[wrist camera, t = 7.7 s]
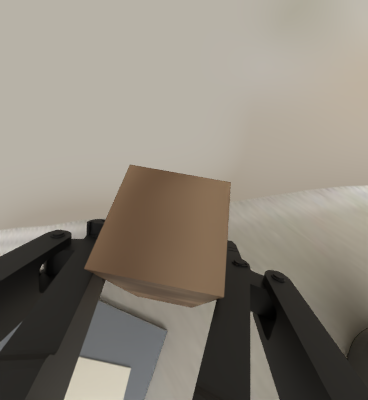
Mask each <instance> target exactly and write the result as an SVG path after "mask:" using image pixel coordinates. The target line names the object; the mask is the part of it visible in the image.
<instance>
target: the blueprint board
mask: <svg viewBox="0 0 368 400" xmlns="http://www.w3.org/2000/svg"><path fill="white" fill-rule="evenodd" d="M21 323H22V322H21ZM21 323H20V324H21ZM20 324H19V325H20ZM19 325H18V326H17V327H16V328H15V329H14V330H13V331H12V332H10V333H9V334H8V335H7V336H6V337H5V338H4V339H3V340H2V341H1V342H0V351H1V350H2V348H3V347H4V346H5V344H6V343H7V342H8V340H9V339H10V338H11V336H12V335H13V333H14V332H15V331H16V329H17V328H18V327H19ZM166 334H167V330H165V329H162V328H160V327H158V326H156V325H154V324H151V323H149V322H147V321H145V320H142V319H140V318H138V317H136V316H133V315H131V314H129V313H127V312H124V311H122V310H120V309H118V308H115V307H113V306H111V305H109V304H106V303H104V302H102V301H100V300H98V303H97V306H96V309H95V312H94V315H93V317H92V320H91V323H90V326H89V329H88V332H87V335H86V338H85V340H84V343H83V346H82V349H81V352H80V355H79V358H78V361H77V364H76V366H75V369H74V372H73V375H72V378H71V381H70V384H69V387H68V389H67V392H66V395H65V398H64V400H144V399H145V396H146V393H147V390H148V387H149V384H150V381H151V378H152V375H153V372H154V369H155V366H156V363H157V360H158V357H159V354H160V352H161V349H162V346H163V343H164V340H165V337H166Z"/></svg>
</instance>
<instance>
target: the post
mask: <svg viewBox="0 0 368 400" xmlns="http://www.w3.org/2000/svg"><path fill="white" fill-rule="evenodd" d="M230 186H231V183H230V182H225V181H220V180H214V179H208V178H203V177H197V176H192V175H186V174H180V173H174V172H169V171H163V170H158V169H151V168H146V167H140V166H135V165H130V166H129V168H128V170H127V173H126V175H125V177H124V179H123V182H122V184H121V186H120V188H119V191H118V193H117V195H116V197H115V200H114V202H113V204H112V207H111V209H110V211H109V214H108V216H107V218H106V220H105V222H104V225H103V227H102V229H101V231H100V234H99V236H98V238H97V240H96V243H95V245H94V247H93V249H92V252H91V254H90V256H89V258H88V261H87V263H86V265H85V268H84V269H86V270H88V271H89V272H91V273H94V274H95V275H97V276H99V277H101V278H103V279H105V280H107V281H109V282H111V283H113V284H115V285H116V286H118V287H120V288H122V289H124V290H126V291H128V292H130V293H132V294H134V295H136V296H138V297H143V298H148V299H153V300H158V301H162V302H167V303H172V304H177V305H182V306H187V307H191V308H192V307H195V306H198V305H201V304H204V303H207V302H211V301H214V300H217V298H218V299H220V298H223V297H224V288H225V271H226V254H227V237H228V220H229V203H230Z"/></svg>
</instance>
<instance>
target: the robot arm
mask: <svg viewBox="0 0 368 400" xmlns="http://www.w3.org/2000/svg"><path fill="white" fill-rule="evenodd" d="M104 222H105V220H103V219H95V220H90V221H88V222H87V235H86V237H85V238H84V239H71V233H70V232H69V231H64V230H55V231H51V232H48V233H46V234H44V235H42V236H40V237H38V238H36V239H34V240H32V241H30V242H28V243H26V244H24V245H22V246H20V247H18V248H16V249H14V250H12V251H10V252H8V253H6V254H4V255H3V256H1V257H0V342H1V341H2V340H3V339H4V338H5V337H6V336H7V335H8V334H9V333H10V332H12V331H13V330H14V329H15V328H16V327H17V326H18V325H19V324H20V323H21V322H22V323H21V324H20V325H19V327H18V328H17V329H16V331H15V332H14V333H13V335H12V336H11V338H10V339H9V340H8V342H7V343H6V344H5V346H4V347H3V348H2V350H1V351H0V400H64V398H65V395H66V392H67V389H68V387H69V384H70V381H71V378H72V375H73V372H74V369H75V366H76V364H77V361H78V358H79V355H80V352H81V349H82V346H83V343H84V340H85V338H86V335H87V332H88V329H89V326H90V323H91V320H92V317H93V315H94V312H95V309H96V306H97V303H98V300H99V297H100V294H101V292H102V289H103V286H104V283H105V279H103V278H101V277H99V276H97V275H95V274H94V273H91V272H89V271H88V270H86V269H84V268H85V265H86V263H87V261H88V258H89V256H90V254H91V252H92V249H93V247H94V245H95V243H96V240H97V238H98V236H99V234H100V231H101V229H102V227H103V225H104ZM43 263H44V269H43V270H41V271H40V272H39V270H40V268H41V266H42V264H43ZM250 311H252V312H253V317H254V320H255V323H256V326H257V329H258V332H259V336H260V339H261V342H262V345H263V348H264V351H265V355H266V358H267V361H268V364H269V367H270V370H271V373H272V377H273V380H274V383H275V386H276V389H277V392H278V395H279V399H280V400H368V329H365V330H364V331H362V332H361V333H360V334H359V335H358V336H357V337H356V338H355V340H354V341H353V343H352V345H351V348H350V351H349V355H348V360H347V359H346V357H345V356H344V355H343V353H342V352H341V350H340V349H339V348H338V346H337V345H336V343H335V342H334V340H333V339H332V338H331V336H330V335H329V333H328V332H327V331H326V329H325V328H324V326H323V325H322V324H321V322H320V321H319V319H318V318H317V317H316V315H315V314H314V312H313V311H312V310H311V308H310V307H309V305H308V304H307V303H306V301H305V300H304V298H303V297H302V296H301V294H300V293H299V291H298V290H297V289H296V287H295V286H294V284H293V283H292V282H291V280H290V279H289V278H288V277H287V276H285V275H284V274H282V273H280V272H278V271H274V270H268V271H266V272H265V274H264V276H263V275H260V274H258V273H255V272H253V271H251V270H250V265H249V264H248V263H247V262H246V261H244V260H242V259H241V256H240V254H239V251H238V249H237V246H236V245H235V244H234V243H233V242H232V241H228V240H227V254H226V271H225V288H224V297H223V298H220V299H218V298H217V302H216V306H215V310H214V314H213V318H212V322H211V326H210V330H209V334H208V338H207V342H206V346H205V350H204V354H203V358H202V362H201V366H200V370H199V374H198V378H197V383H196V387H195V391H194V395H193V399H192V400H250Z"/></svg>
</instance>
